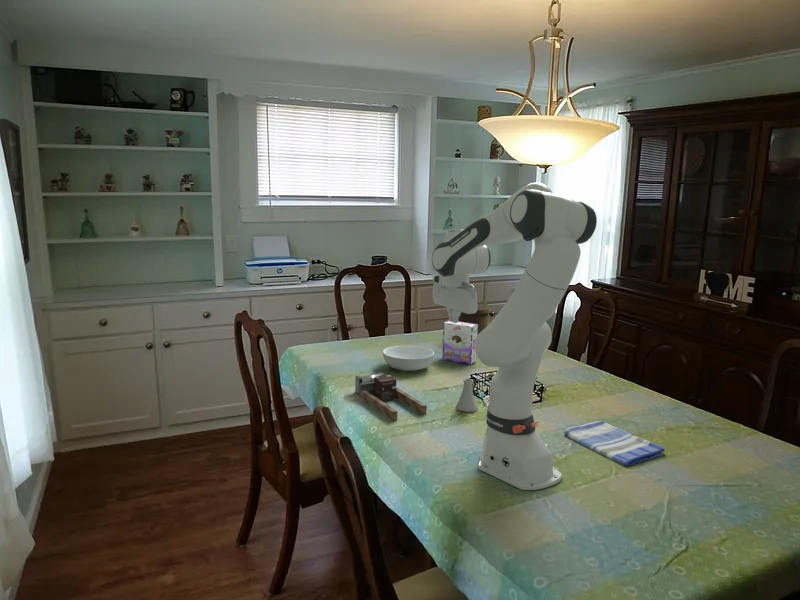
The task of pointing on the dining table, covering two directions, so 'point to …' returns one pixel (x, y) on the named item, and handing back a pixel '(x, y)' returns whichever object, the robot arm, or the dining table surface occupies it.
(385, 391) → the box
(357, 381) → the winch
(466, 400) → the flask
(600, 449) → the dish towel
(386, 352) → the serving bowl
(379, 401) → the bay
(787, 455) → the dining table surface
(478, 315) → the wooden container
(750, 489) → the dining table surface
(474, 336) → the candy box
